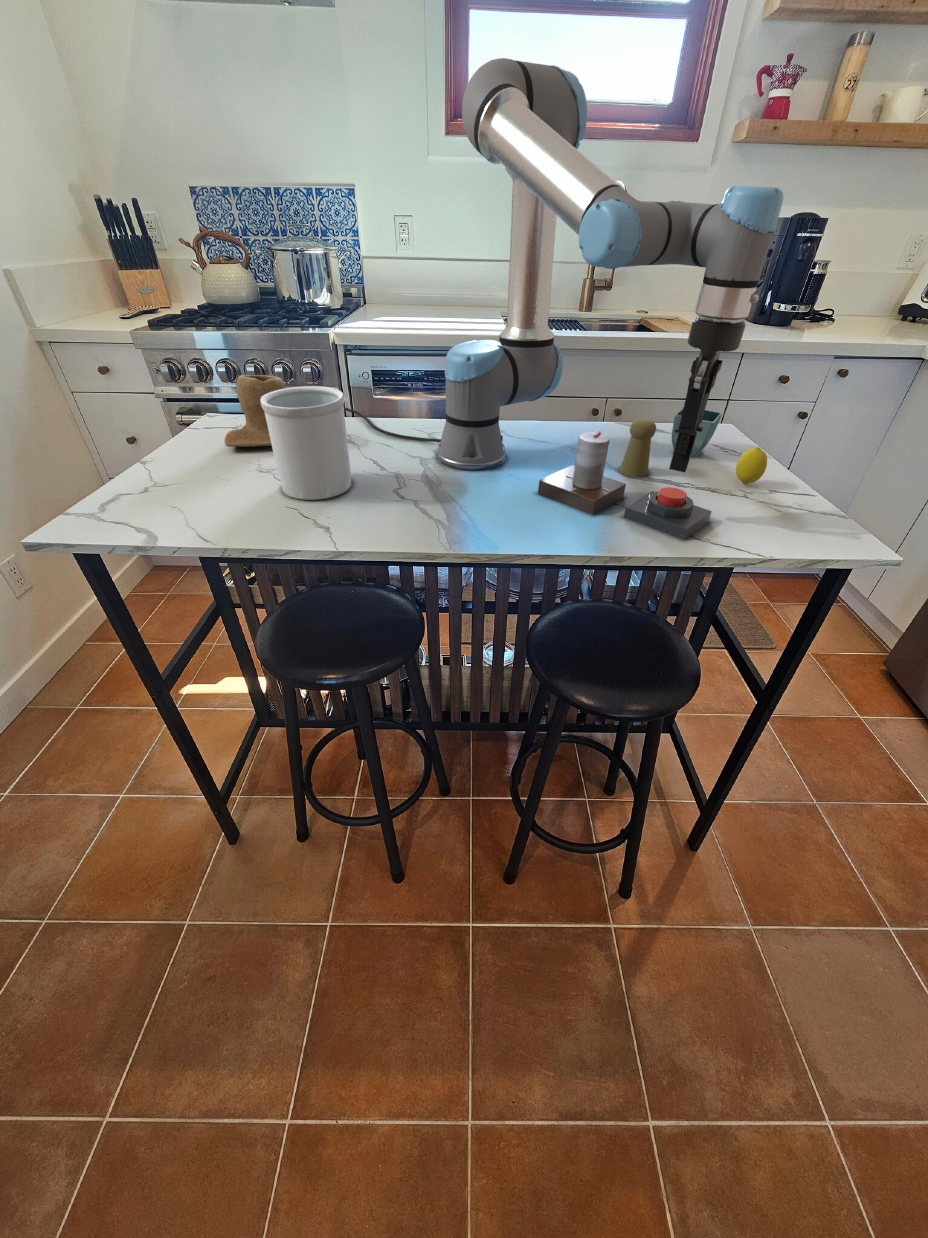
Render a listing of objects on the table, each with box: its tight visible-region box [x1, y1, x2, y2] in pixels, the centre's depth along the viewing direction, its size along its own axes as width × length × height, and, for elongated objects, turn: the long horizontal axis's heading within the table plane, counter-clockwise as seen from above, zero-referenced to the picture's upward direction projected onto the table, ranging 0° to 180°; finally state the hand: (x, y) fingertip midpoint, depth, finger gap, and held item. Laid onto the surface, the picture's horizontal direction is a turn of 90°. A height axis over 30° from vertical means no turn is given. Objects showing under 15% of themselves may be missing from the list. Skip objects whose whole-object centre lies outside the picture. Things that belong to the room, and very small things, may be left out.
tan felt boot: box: [223, 374, 286, 448], centre depth 125 cm, size 15×12×15 cm
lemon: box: [735, 446, 768, 486], centre depth 113 cm, size 6×6×8 cm
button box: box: [623, 490, 712, 541], centre depth 101 cm, size 12×10×4 cm
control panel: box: [537, 464, 627, 516], centre depth 108 cm, size 13×11×3 cm
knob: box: [573, 430, 611, 489], centre depth 104 cm, size 6×6×9 cm
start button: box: [657, 486, 688, 507], centre depth 99 cm, size 5×5×2 cm
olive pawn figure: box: [619, 418, 657, 478], centre depth 116 cm, size 6×6×11 cm
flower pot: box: [671, 406, 723, 458], centre depth 127 cm, size 9×9×9 cm
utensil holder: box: [260, 385, 352, 501], centre depth 105 cm, size 15×15×18 cm
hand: (677, 469), depth 96 cm, fingers closed
